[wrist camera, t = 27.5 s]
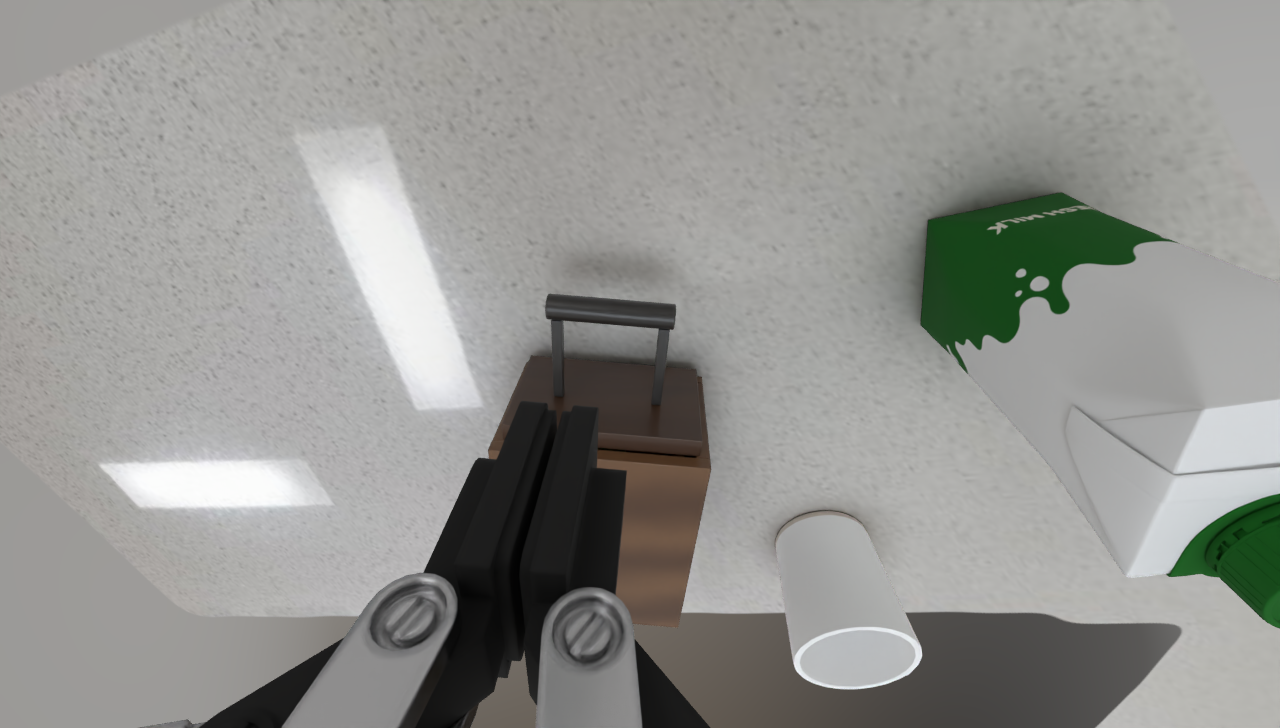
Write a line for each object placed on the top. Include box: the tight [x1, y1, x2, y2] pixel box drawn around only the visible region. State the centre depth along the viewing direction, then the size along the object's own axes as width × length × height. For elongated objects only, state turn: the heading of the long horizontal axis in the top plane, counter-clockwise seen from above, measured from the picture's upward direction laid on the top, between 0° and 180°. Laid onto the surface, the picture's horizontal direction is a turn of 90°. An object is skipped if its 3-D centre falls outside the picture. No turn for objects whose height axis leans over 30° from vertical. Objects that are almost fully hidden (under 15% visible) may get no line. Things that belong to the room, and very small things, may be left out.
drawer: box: [501, 294, 703, 457], centre depth 33 cm, size 22×11×7 cm, turn 176°
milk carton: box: [921, 193, 1280, 628], centre depth 21 cm, size 9×9×20 cm
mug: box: [775, 511, 922, 689], centre depth 40 cm, size 11×9×10 cm
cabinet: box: [488, 362, 711, 627], centre depth 36 cm, size 17×13×9 cm
